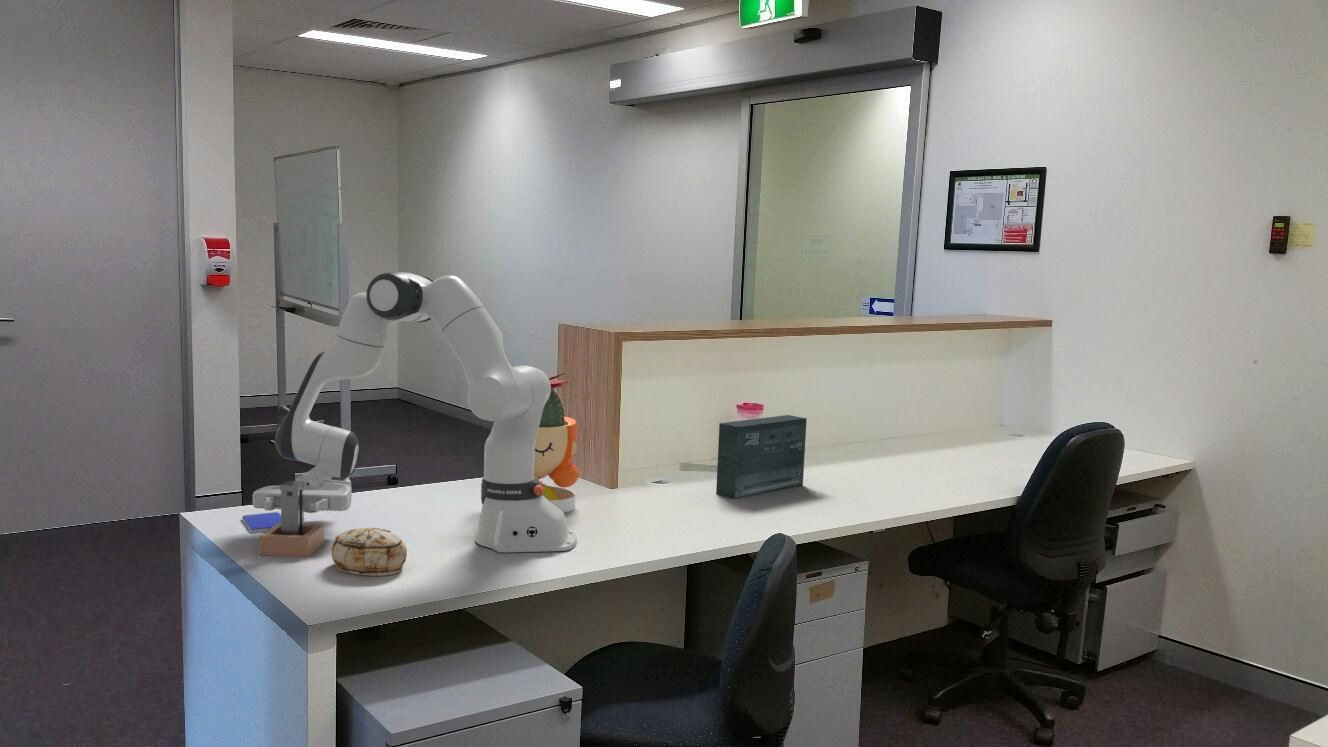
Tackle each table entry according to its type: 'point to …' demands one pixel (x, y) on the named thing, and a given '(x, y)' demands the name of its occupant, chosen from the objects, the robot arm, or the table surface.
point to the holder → (291, 541)
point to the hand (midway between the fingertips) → (290, 507)
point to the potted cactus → (556, 451)
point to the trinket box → (369, 552)
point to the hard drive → (261, 521)
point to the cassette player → (760, 455)
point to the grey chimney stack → (292, 508)
